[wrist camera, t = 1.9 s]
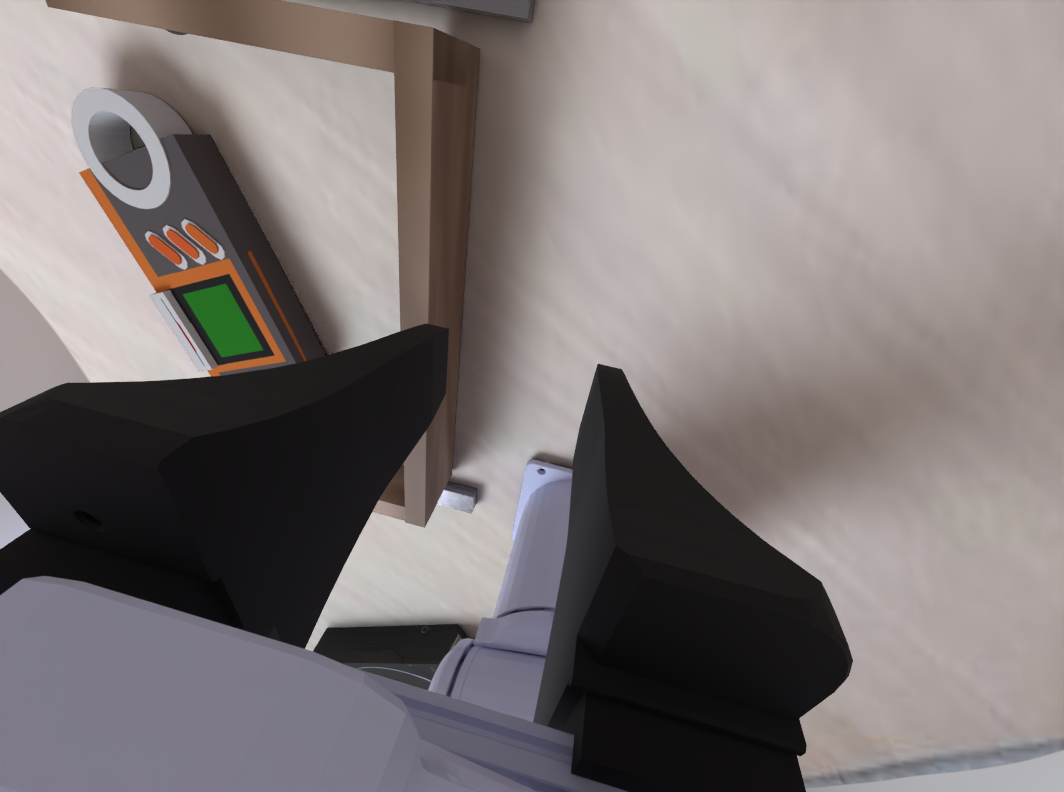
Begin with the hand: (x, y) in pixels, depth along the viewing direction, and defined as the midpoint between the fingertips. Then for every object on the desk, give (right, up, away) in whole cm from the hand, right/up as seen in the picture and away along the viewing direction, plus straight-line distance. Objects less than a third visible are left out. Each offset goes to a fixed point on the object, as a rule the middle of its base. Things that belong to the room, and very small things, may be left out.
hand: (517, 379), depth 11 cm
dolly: (-10, +5, +12) cm, 16 cm away
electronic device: (-16, +7, +12) cm, 22 cm away
